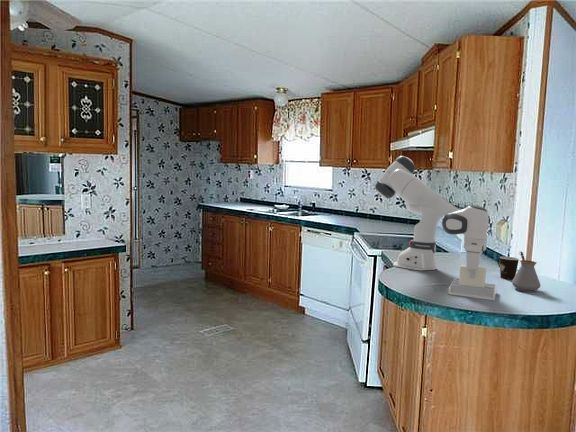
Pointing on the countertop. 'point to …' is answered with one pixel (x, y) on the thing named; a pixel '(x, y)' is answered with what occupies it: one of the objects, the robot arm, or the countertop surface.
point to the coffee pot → (526, 276)
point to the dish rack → (473, 290)
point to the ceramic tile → (467, 281)
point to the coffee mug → (508, 267)
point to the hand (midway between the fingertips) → (472, 277)
